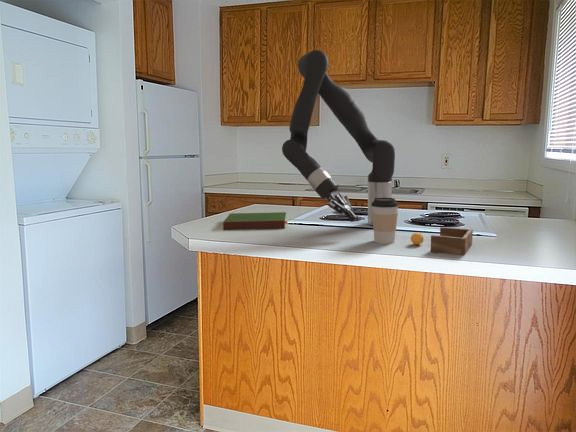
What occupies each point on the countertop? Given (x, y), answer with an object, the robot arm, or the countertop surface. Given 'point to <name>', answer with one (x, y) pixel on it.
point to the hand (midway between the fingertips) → (354, 219)
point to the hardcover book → (255, 221)
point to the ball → (417, 238)
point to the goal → (452, 241)
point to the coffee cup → (384, 219)
